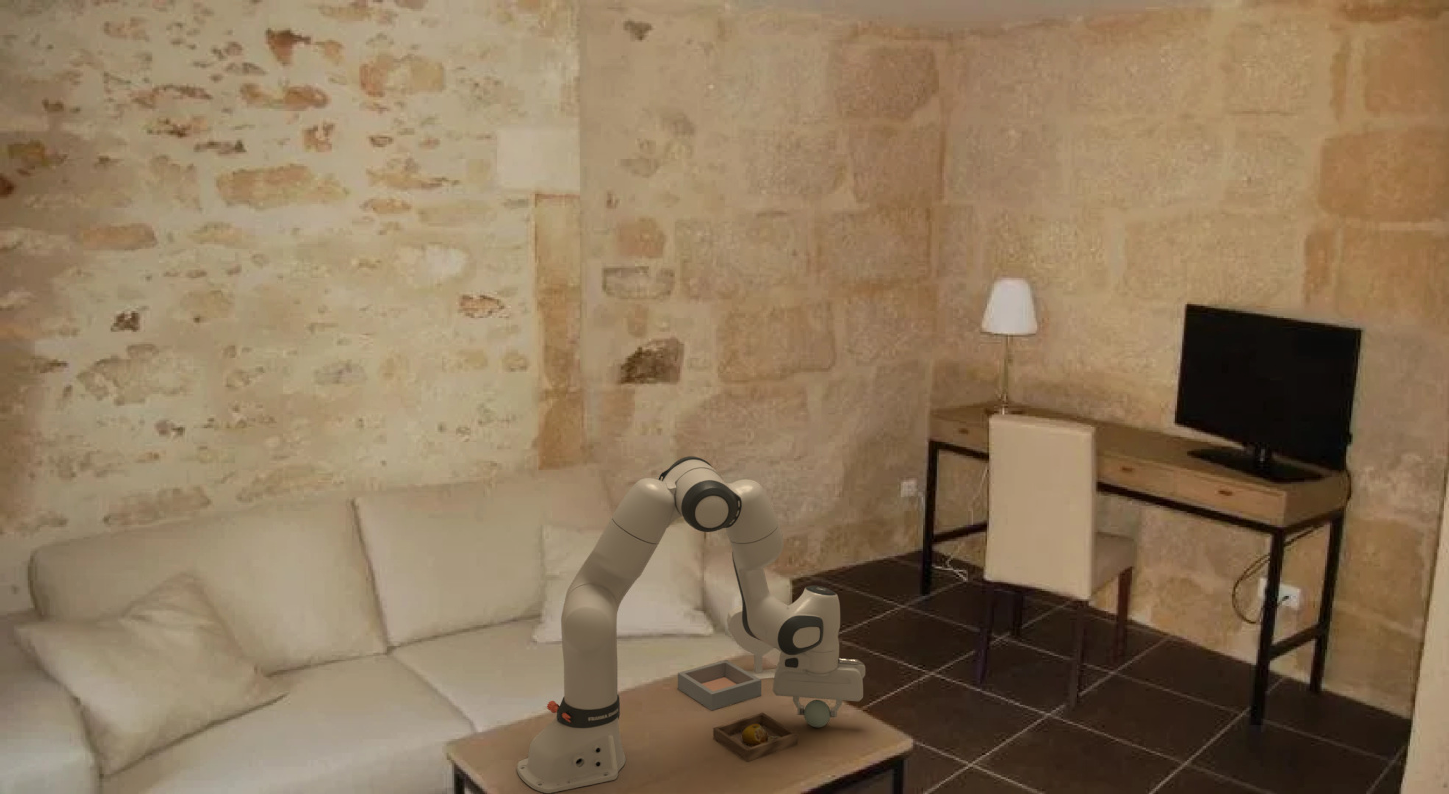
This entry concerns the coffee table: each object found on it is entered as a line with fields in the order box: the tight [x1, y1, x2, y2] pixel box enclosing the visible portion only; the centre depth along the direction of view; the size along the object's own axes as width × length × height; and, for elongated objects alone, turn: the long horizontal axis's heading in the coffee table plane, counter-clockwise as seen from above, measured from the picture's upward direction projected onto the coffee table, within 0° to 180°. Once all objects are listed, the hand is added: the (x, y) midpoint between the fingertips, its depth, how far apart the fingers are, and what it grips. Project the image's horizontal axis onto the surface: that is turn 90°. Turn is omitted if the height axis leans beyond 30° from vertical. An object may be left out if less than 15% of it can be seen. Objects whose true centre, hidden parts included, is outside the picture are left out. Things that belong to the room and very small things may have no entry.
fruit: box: [741, 724, 781, 747], centre depth 245 cm, size 8×8×4 cm
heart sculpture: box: [726, 604, 776, 680], centre depth 279 cm, size 16×5×18 cm, turn 102°
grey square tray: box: [677, 659, 762, 711], centre depth 270 cm, size 14×14×4 cm
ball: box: [803, 699, 831, 728], centre depth 253 cm, size 6×6×6 cm
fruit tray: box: [712, 712, 799, 763], centre depth 245 cm, size 14×13×2 cm
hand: (817, 715), depth 253 cm, fingers closed on ball, 6 cm apart
